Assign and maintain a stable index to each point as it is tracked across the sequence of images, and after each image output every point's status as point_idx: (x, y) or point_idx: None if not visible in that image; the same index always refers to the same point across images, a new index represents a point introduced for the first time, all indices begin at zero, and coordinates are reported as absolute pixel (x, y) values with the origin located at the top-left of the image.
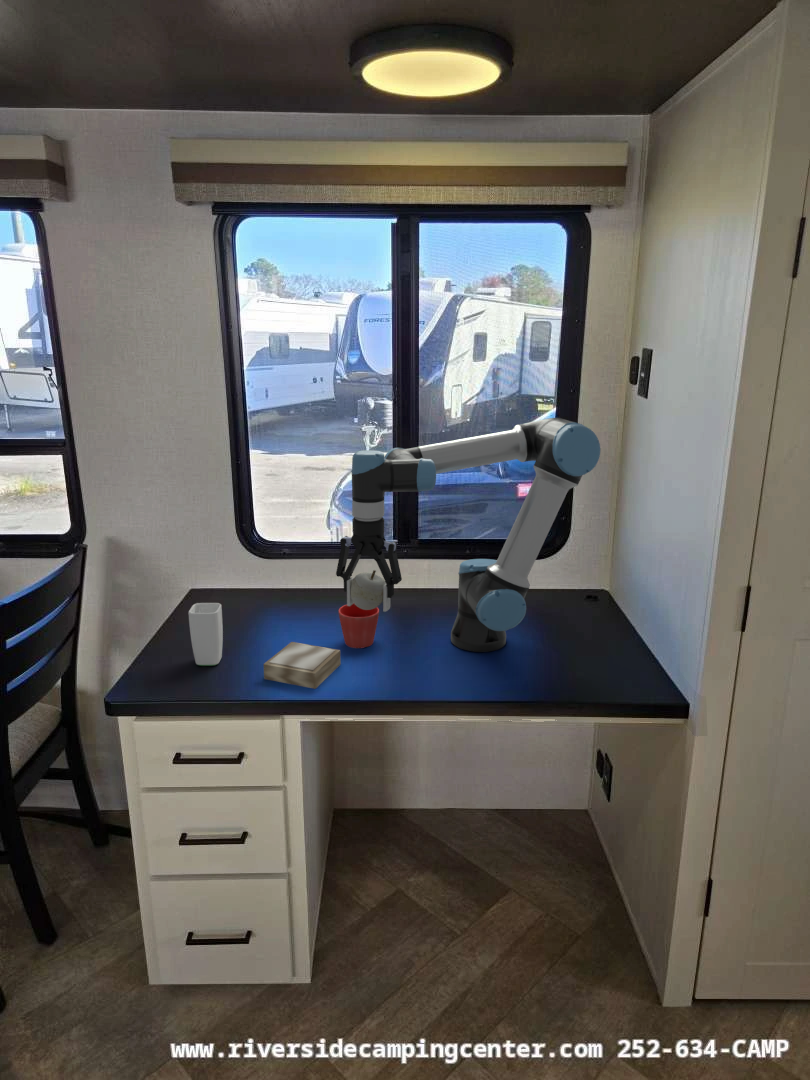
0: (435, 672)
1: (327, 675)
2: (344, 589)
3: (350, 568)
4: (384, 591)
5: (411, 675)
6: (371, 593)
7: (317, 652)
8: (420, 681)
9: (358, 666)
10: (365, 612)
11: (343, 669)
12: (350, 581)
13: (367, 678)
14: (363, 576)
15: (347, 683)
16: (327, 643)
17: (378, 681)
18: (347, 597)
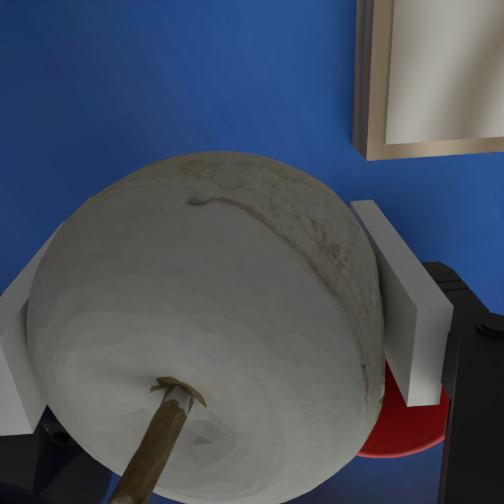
0: (20, 231)
1: (357, 22)
2: (446, 270)
3: (478, 435)
4: (13, 304)
5: (78, 176)
6: (90, 201)
7: (449, 89)
8: (25, 148)
9: (284, 159)
10: (380, 422)
11: (325, 113)
12: (411, 320)
13: (208, 85)
14: (245, 376)
15: (258, 9)
16: (460, 269)
17: (158, 80)
18: (388, 226)
